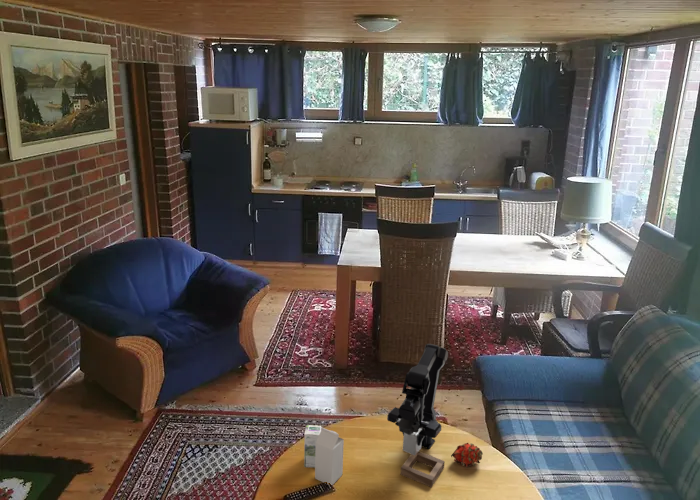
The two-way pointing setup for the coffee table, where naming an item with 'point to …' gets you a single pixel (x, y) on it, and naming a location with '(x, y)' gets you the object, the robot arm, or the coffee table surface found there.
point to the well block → (418, 475)
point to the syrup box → (310, 445)
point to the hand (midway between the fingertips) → (412, 442)
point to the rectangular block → (411, 443)
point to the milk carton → (328, 456)
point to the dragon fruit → (467, 454)
